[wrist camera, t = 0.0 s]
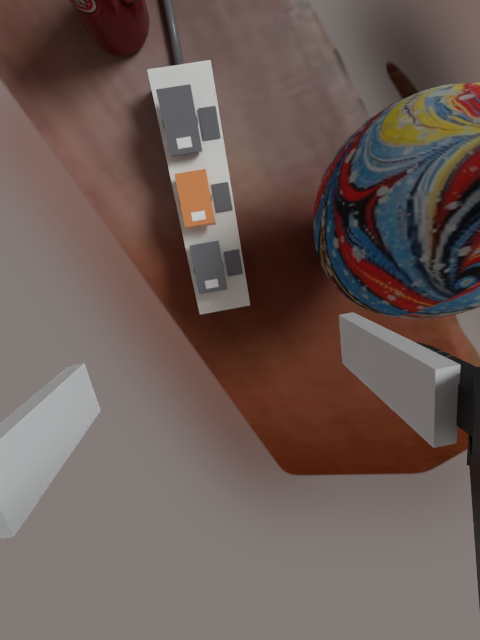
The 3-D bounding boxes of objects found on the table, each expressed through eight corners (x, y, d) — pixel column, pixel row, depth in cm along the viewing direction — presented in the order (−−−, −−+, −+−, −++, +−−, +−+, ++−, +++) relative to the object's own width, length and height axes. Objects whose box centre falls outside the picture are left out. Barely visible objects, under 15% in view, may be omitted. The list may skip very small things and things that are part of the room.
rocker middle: (175, 178, 33) (173, 173, 32) (207, 173, 33) (206, 168, 32) (185, 229, 34) (183, 227, 33) (216, 224, 34) (216, 221, 33)
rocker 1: (156, 93, 30) (154, 89, 29) (191, 88, 30) (191, 83, 29) (170, 157, 33) (169, 155, 32) (203, 151, 33) (203, 150, 32)
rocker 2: (189, 247, 35) (188, 245, 34) (219, 242, 36) (219, 240, 34) (199, 294, 36) (198, 294, 35) (228, 289, 36) (228, 289, 35)
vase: (427, 180, 40) (971, 15, 11) (375, 305, 44) (675, 418, 15) (305, 133, 37) (617, -252, 8) (262, 272, 41) (371, 334, 13)
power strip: (128, -37, 31) (113, -84, 27) (190, -46, 32) (186, -93, 27) (200, 308, 42) (199, 315, 38) (247, 299, 42) (250, 306, 38)
